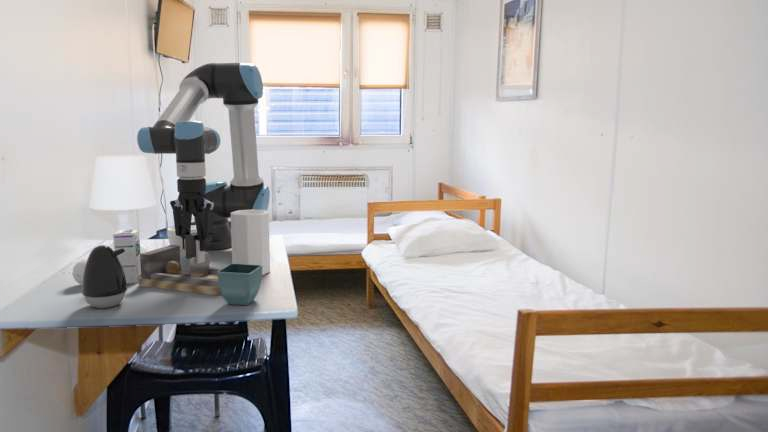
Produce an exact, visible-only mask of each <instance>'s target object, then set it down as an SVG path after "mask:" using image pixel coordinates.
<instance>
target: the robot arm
mask: <svg viewBox="0 0 768 432" xmlns="http://www.w3.org/2000/svg"><path fill="white" fill-rule="evenodd" d="M263 95H264V84H263V79H262V75H261V72H260V71H259V67H257V66H256V65H255V64H253V63H249V62H210V63H205V64H203V65H200V66H199V67H197V68H195V69H193V70H192V71H191V72H189V73H188V74H187V75H186V76H184V77H183V79H182V81H180V83H179V88H178V92H177V93H176V94H175V96H174V97H173V98H172V100H171V101H170V102H169V104H168V106H167V107H165V108H166V109H165V110H164V111H162V114H161V115H160V116H159V118H158V119H157V120H156V122H155V123H154V125H153V126H145V127H144V126H143V127H141V128H139V130H138V132H137V136H136V141H137V145H138V148H139V150H140V151H141V152H142V153H145V154H154V155H156V154H167V155H168V154H170V155H171V154H173V155H174V154H175V161H176V162H175V164H176V166H175V167H176V177H178V178H177V180H176V185H177V192H178V195H177V198H176V199H175V200H171V201H170V202H169V204H170V206H171V209H172V214H173V215H172V216H173V222H174V223H173V224H174V225H173V226H175V233H176V236H180V237H181V238H182V243H183V250H185V256H186V249H185V235H186V234H190V231H191V225H192V218H193V217H194V218H193V219H194V226H196V229H197V235H198V238H197V240H196V259H197V263H202V262H205V252H206V251H215V250H223V249H227V248H232V239H231V227H230V226H229V219H231V212H234V211H238V210H252V209H253V210H265V211H267V212H268V208H269V204H270V198H271V196H270V195H271V193H270V192H271V191H270V187H269V186H267V184H266V185H264V179H263V178H262V177H260V174H259V162H258V147H257V133H256V120H255V119H256V116H255V108H256V107H257V106H258V104H259V99H262V97H263ZM209 99H222V102H223V106H225V108H226V109H228V120H229V132H230V133H229V134H230V145H231V156H232V168H233V170H232V171H233V178H232V179H231V180H230V181H229V185H228V182H227V181H226V180H221V181H212V182H207V179H206V178H204V177H206V175H207V172H206V158H205V157H206V154H207V155H209V154H210V155H211V154H212V153H214V152H216V151H217V150H218V149H219V147H220V145H221V137H220V134H219V133H218V131H216V130H215V129H214V128H212V127H208V126H204V123H203V121H201V120H191V118H192V117H193V115H194V114H195V113H196V111H198V110H197V109H198V108H199V106H200V105H202V104H204V103H205V102H207V100H209ZM192 216H193V217H192Z"/></svg>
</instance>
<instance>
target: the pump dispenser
mask: <svg viewBox="0 0 768 432" xmlns="http://www.w3.org/2000/svg"><path fill="white" fill-rule="evenodd" d="M124 252H125V250H124V249H123V248H122V249H119V250H116V251H114V249H113V248H111V247H110V246H108V245H104V244H102V245H101V244H100V245H98V246H95V247H93V248H92V250H91V251H90V252H89V254H88V257H87V262H86V265H85V269H84V273H83V280H82V285H81V294H82V295H83V296H84V299H85V301H86V303H87V304H88V305H90V307H93V308H96V309H109V308H112V307H116V306H117V305H119V304H120V303H121V302H122V301H123V300H124V298H125V296H126V292H127V291H128V284H127V283H126V278H125V274H124V270H123V267H122V265H121V263H120V260H119V258H118V257H117V256H118V255H120V254H122V253H124Z"/></svg>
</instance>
